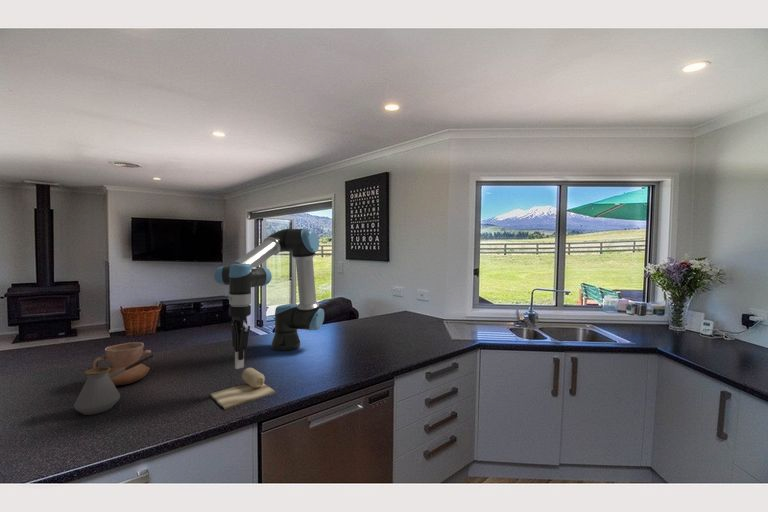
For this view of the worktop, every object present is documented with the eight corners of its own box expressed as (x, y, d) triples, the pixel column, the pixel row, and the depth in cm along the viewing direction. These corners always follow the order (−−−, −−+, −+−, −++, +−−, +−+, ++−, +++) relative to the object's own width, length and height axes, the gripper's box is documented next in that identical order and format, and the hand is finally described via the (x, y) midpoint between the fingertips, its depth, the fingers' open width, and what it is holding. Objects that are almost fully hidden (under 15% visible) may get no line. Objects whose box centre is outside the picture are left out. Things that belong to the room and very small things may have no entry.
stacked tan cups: (152, 371, 140) (152, 338, 140) (150, 383, 128) (149, 347, 128) (97, 380, 130) (96, 345, 130) (89, 394, 118) (88, 355, 118)
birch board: (210, 395, 118) (210, 393, 118) (259, 382, 131) (259, 380, 131) (224, 409, 108) (224, 407, 108) (275, 393, 121) (275, 391, 121)
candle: (247, 365, 129) (258, 372, 122) (257, 370, 132) (269, 377, 125) (238, 378, 127) (249, 386, 120) (249, 383, 130) (260, 391, 123)
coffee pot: (72, 421, 99) (72, 373, 99) (74, 407, 108) (74, 362, 108) (157, 401, 113) (157, 358, 113) (153, 390, 122) (153, 350, 122)
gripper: (223, 303, 124) (222, 365, 124) (236, 308, 115) (235, 375, 115) (243, 301, 129) (242, 360, 130) (257, 306, 120) (256, 369, 120)
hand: (239, 367), depth 122 cm, fingers closed
